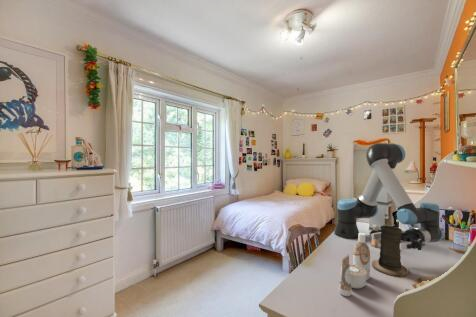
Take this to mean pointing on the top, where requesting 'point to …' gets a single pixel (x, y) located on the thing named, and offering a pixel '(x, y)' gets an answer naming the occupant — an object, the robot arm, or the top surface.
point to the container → (390, 248)
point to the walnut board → (389, 272)
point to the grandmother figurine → (374, 241)
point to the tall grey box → (381, 209)
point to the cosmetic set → (355, 268)
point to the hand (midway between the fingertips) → (385, 241)
